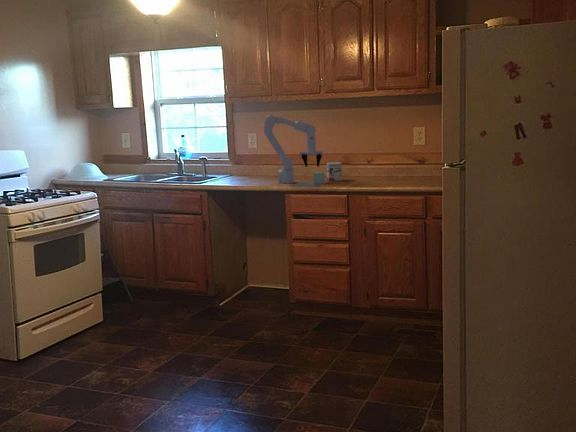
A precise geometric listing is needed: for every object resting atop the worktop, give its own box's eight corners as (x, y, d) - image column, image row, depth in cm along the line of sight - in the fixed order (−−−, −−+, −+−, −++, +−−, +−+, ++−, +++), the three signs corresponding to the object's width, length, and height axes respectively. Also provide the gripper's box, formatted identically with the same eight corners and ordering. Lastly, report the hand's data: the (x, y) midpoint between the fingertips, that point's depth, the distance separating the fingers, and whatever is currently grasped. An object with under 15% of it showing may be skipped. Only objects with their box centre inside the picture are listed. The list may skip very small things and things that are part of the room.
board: (288, 187, 389) (288, 186, 389) (300, 183, 408) (300, 182, 407) (317, 188, 383) (317, 186, 383) (327, 183, 401) (327, 182, 401)
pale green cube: (313, 183, 396) (313, 172, 395) (316, 182, 401) (315, 171, 400) (321, 183, 394) (321, 172, 393) (324, 182, 399) (323, 171, 398)
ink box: (329, 182, 405) (328, 163, 403) (326, 181, 409) (326, 162, 407) (342, 181, 406) (341, 162, 404) (340, 180, 411) (339, 161, 409)
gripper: (298, 145, 403) (299, 167, 406) (320, 144, 398) (321, 167, 401) (301, 144, 410) (302, 166, 412) (323, 144, 405) (324, 165, 407)
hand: (312, 166), depth 407 cm, fingers open, 7 cm apart
